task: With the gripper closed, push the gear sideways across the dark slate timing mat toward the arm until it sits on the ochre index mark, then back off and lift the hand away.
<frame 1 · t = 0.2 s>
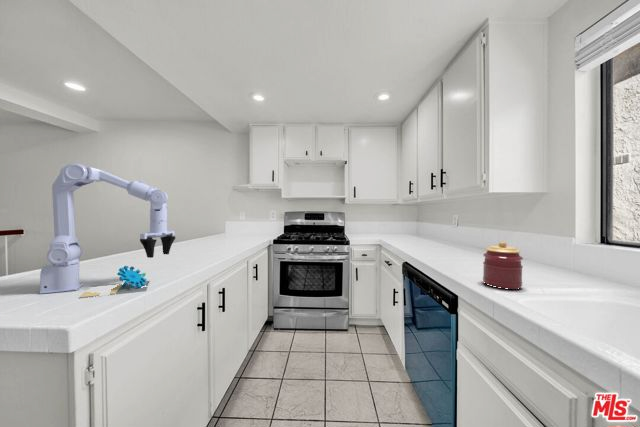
hand: (158, 255, 104), 10 cm above the countertop, tool pointing down, fingers open, 7 cm apart
gear: (133, 287, 97), on the countertop, touching timing mat
canister: (501, 286, 106), on the countertop
timing mat: (118, 290, 95), on the countertop
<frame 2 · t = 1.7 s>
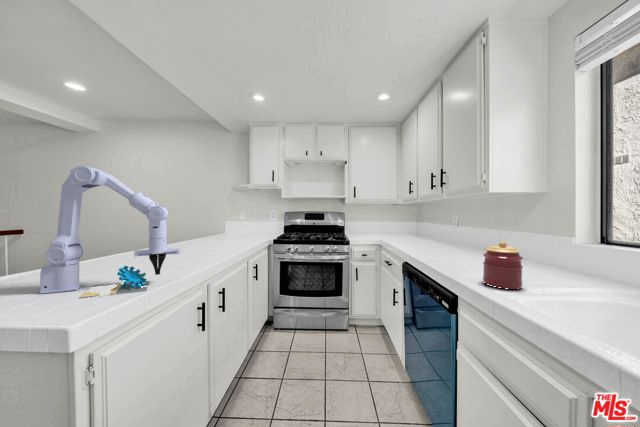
hand: (157, 274, 101), 4 cm above the countertop, tool pointing down, fingers closed
nothing on the countertop moved.
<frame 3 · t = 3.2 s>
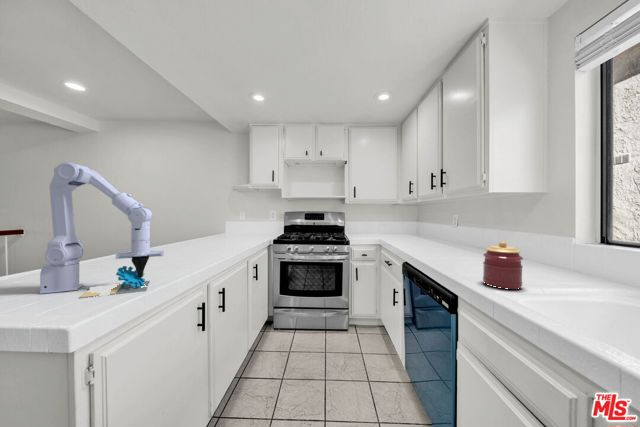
hand: (140, 277, 98), 3 cm above the countertop, tool pointing down, fingers closed
gear: (132, 287, 97), on the countertop, touching gripper, timing mat
everything else where it was.
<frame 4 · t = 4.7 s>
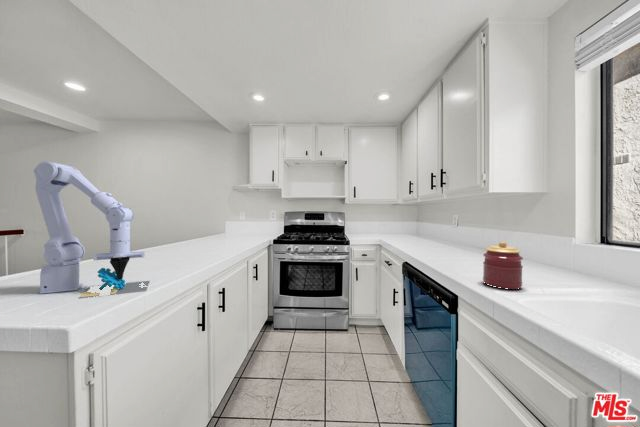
hand: (120, 278, 95), 3 cm above the countertop, tool pointing down, fingers closed
gear: (112, 289, 94), on the countertop, touching gripper, timing mat
everything else where it was.
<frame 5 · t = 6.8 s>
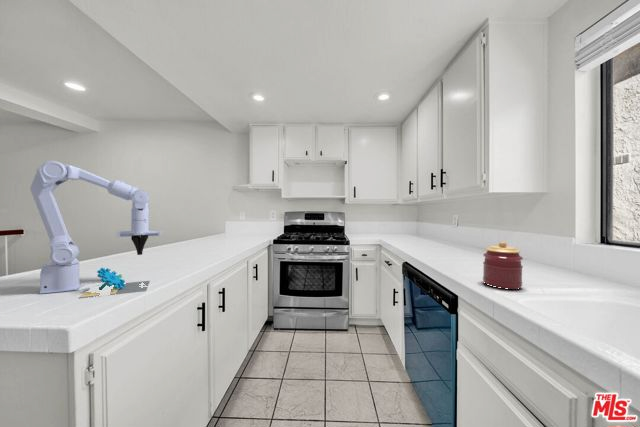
hand: (139, 254, 106), 10 cm above the countertop, tool pointing down, fingers closed
gear: (112, 289, 94), on the countertop, touching timing mat
everything else where it was.
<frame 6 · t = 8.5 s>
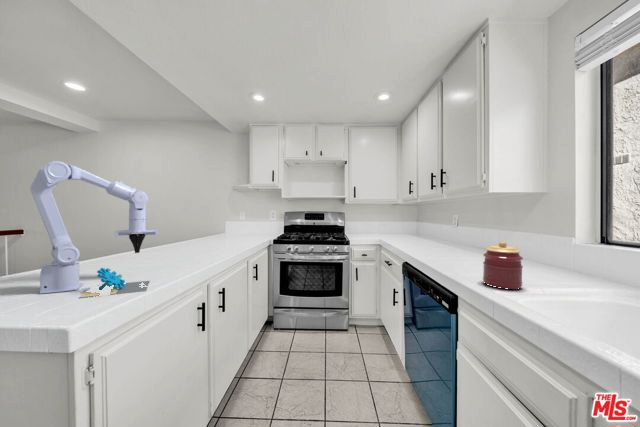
hand: (137, 252, 110), 10 cm above the countertop, tool pointing down, fingers closed
nothing on the countertop moved.
at the end: gear inside the target area (2.7 cm from its centre), on the countertop; gear moved 6.2 cm from its start; gear tilted 0° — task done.
